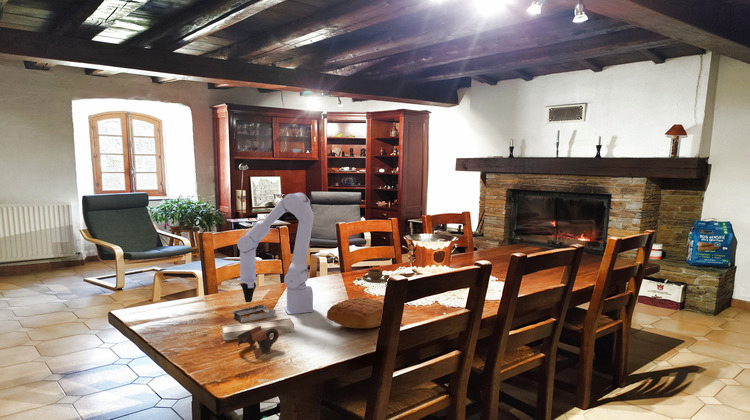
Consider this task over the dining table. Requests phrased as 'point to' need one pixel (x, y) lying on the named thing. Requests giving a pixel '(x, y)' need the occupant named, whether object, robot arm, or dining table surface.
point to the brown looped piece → (259, 339)
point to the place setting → (375, 276)
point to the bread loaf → (357, 313)
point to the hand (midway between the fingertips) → (248, 301)
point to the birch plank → (236, 330)
